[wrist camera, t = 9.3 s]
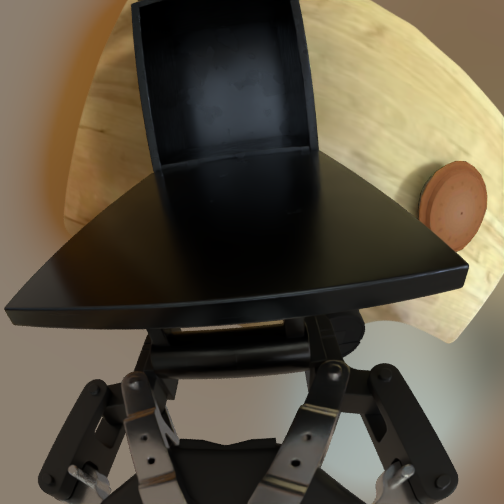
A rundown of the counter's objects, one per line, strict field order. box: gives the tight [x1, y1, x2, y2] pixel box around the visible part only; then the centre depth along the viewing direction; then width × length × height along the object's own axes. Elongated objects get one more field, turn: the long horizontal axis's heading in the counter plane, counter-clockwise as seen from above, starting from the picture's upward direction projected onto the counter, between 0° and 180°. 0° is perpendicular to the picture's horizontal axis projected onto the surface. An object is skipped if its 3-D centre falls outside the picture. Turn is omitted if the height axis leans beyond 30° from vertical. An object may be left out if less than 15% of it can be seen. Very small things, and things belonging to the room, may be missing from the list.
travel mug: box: [324, 309, 365, 358], centre depth 32 cm, size 6×7×20 cm
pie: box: [419, 161, 487, 252], centre depth 35 cm, size 15×16×5 cm
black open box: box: [131, 0, 319, 172], centre depth 25 cm, size 18×15×13 cm
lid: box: [4, 151, 469, 379], centre depth 16 cm, size 19×15×6 cm
